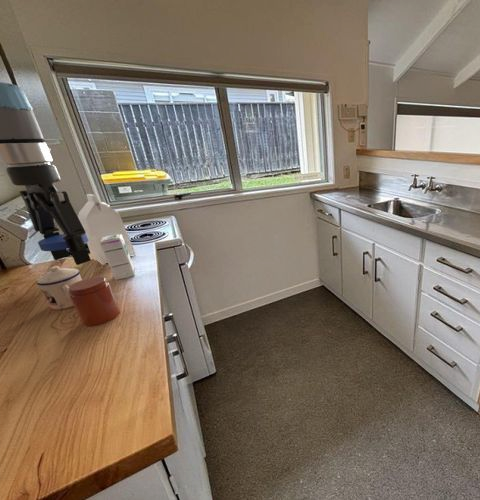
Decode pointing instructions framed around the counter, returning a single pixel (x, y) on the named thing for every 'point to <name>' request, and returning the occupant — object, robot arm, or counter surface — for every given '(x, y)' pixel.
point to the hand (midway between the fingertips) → (72, 260)
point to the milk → (101, 226)
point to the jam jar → (94, 301)
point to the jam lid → (57, 242)
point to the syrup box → (117, 256)
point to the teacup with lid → (58, 286)
